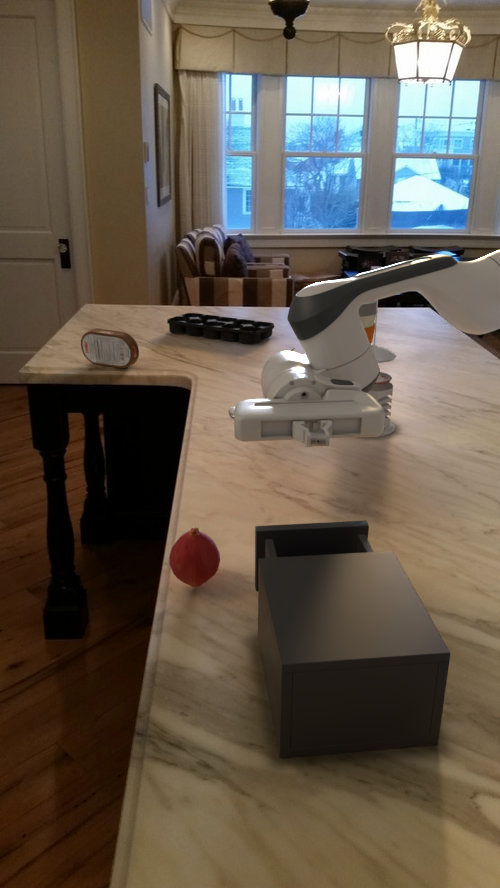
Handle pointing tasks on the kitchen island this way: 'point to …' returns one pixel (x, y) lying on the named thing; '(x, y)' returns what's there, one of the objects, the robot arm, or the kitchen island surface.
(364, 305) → the reusable coffee cup
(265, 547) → the dark grey open drawer
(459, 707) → the kitchen island surface
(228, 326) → the egg carton
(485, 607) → the kitchen island surface
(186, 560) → the onion
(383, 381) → the french press
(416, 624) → the dark drawer box
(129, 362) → the tin
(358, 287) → the robot arm
